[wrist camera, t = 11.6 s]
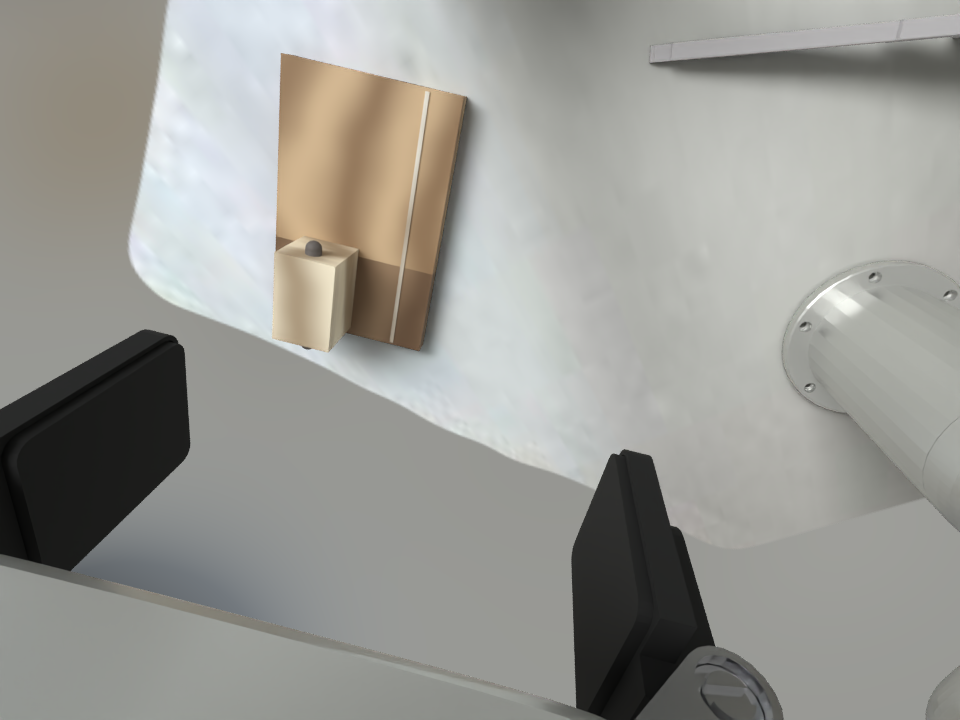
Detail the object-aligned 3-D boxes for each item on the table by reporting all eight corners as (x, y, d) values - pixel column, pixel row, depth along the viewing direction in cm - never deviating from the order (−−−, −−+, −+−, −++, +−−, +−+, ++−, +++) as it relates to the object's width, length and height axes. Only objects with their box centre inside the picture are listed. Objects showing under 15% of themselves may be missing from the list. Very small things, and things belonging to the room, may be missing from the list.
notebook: (466, 96, 37) (463, 96, 36) (423, 343, 46) (418, 351, 45) (290, 54, 37) (280, 52, 36) (281, 308, 47) (273, 315, 45)
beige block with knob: (360, 236, 41) (336, 253, 37) (349, 337, 45) (327, 363, 41) (304, 223, 41) (274, 238, 37) (299, 325, 46) (271, 349, 41)
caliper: (997, 15, 32) (1092, -3, 26) (991, 35, 32) (1082, 22, 27) (649, 45, 35) (667, 35, 29) (648, 64, 35) (665, 58, 30)
